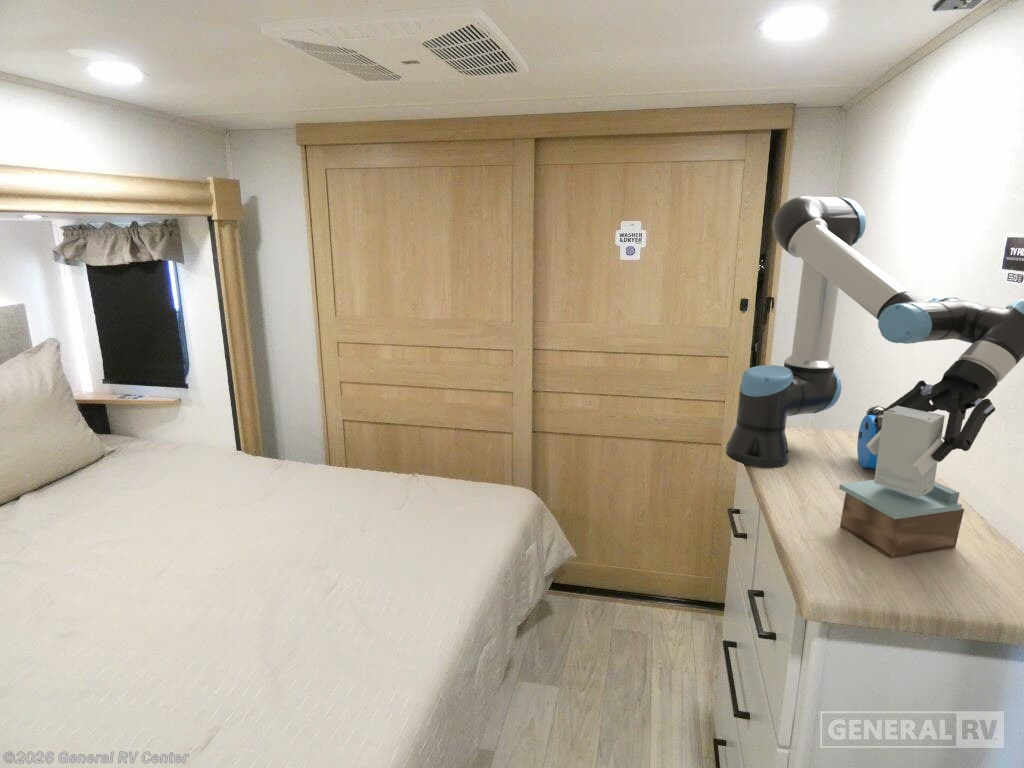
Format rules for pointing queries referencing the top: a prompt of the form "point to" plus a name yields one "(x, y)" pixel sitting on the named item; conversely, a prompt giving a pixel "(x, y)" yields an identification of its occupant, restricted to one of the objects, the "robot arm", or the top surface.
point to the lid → (903, 499)
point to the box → (900, 529)
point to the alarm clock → (868, 436)
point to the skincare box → (906, 449)
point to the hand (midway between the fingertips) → (893, 459)
